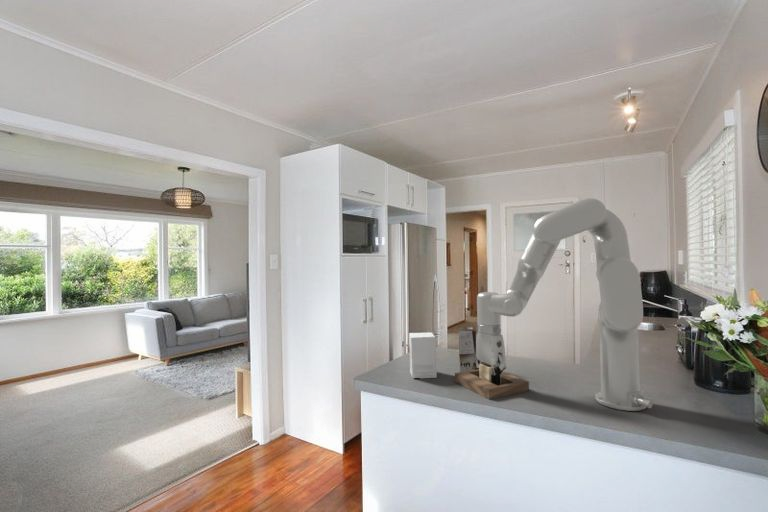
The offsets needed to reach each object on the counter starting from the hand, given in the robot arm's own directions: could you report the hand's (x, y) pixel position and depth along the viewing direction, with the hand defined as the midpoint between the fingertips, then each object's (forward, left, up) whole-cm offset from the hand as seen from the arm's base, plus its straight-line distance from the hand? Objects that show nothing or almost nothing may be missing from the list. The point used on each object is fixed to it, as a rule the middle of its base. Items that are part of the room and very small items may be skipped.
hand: (490, 383), depth 125 cm
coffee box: (+18, -4, -1) cm, 18 cm away
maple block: (0, 0, -1) cm, 1 cm away
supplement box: (+21, +14, -1) cm, 25 cm away
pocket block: (0, 0, -1) cm, 1 cm away
